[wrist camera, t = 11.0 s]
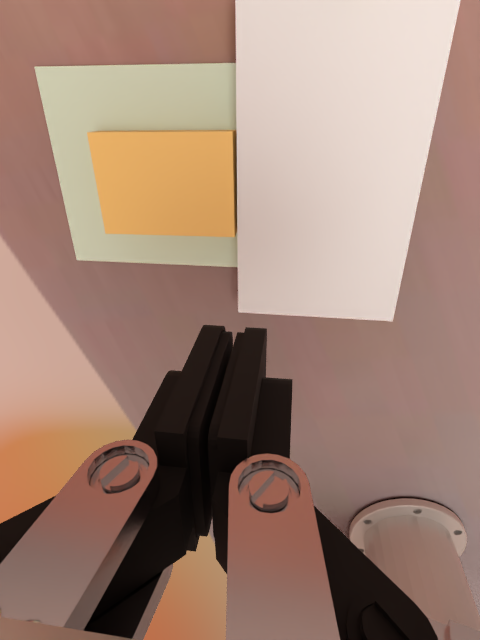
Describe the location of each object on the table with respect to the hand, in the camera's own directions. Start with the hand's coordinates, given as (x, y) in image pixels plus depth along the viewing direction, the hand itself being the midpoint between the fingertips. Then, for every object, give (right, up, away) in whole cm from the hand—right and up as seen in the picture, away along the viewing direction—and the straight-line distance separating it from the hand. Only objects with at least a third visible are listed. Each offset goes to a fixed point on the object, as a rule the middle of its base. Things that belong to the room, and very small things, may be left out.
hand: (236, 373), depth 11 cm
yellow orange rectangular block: (-5, +12, +19) cm, 23 cm away
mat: (-7, +12, +19) cm, 24 cm away
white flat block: (+6, +12, +17) cm, 22 cm away
